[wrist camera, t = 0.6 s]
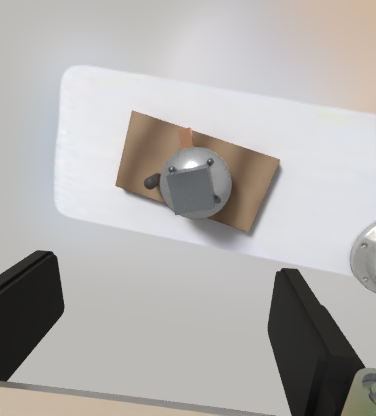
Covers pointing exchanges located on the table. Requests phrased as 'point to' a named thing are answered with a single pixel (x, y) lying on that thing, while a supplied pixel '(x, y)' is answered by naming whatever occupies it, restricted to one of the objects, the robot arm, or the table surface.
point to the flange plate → (194, 160)
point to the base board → (170, 144)
